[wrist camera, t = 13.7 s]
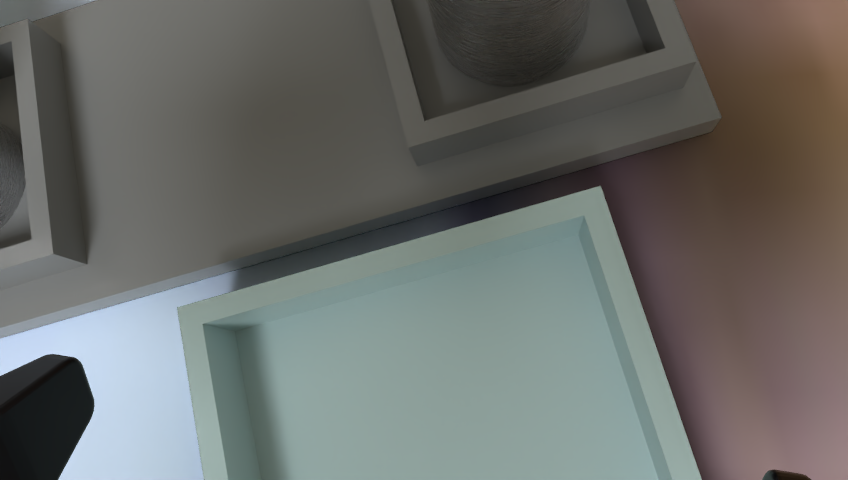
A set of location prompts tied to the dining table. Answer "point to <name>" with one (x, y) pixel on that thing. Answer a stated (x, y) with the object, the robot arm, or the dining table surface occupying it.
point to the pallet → (291, 133)
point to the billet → (10, 173)
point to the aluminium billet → (508, 37)
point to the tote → (442, 362)
